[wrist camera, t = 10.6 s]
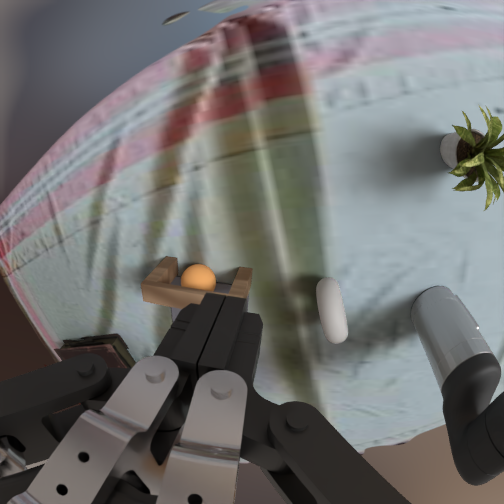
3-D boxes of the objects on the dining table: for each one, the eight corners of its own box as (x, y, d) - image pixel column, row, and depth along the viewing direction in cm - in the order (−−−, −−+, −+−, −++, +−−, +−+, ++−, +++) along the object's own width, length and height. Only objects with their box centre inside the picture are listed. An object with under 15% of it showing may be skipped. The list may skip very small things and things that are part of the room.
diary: (159, 384, 64) (151, 399, 59) (98, 383, 71) (90, 394, 66) (117, 328, 57) (107, 343, 53) (61, 336, 64) (52, 347, 59)
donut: (312, 268, 43) (314, 305, 34) (333, 262, 42) (341, 298, 33) (326, 318, 47) (329, 360, 38) (345, 313, 46) (353, 354, 37)
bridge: (166, 256, 47) (140, 283, 38) (252, 268, 45) (241, 301, 37) (167, 272, 48) (143, 301, 39) (251, 284, 46) (240, 319, 38)
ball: (209, 310, 43) (216, 290, 48) (214, 281, 41) (221, 262, 45) (175, 301, 43) (185, 282, 48) (177, 271, 40) (188, 254, 45)
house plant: (418, 82, 29) (480, 63, 15) (489, 113, 28) (558, 119, 13) (404, 175, 35) (461, 206, 21) (475, 197, 34) (538, 235, 19)
